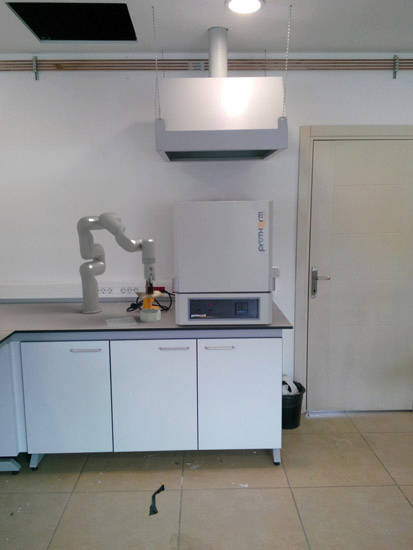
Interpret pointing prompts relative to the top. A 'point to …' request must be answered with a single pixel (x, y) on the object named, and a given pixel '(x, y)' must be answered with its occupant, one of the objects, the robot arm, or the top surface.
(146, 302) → the bracket
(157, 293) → the lid
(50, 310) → the top surface
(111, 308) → the top surface
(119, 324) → the mat
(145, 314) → the bowl
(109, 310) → the top surface
